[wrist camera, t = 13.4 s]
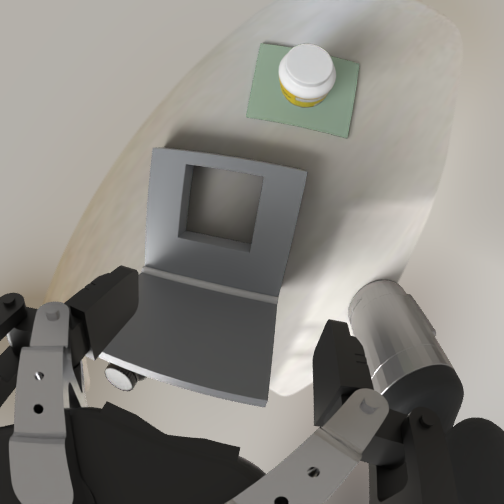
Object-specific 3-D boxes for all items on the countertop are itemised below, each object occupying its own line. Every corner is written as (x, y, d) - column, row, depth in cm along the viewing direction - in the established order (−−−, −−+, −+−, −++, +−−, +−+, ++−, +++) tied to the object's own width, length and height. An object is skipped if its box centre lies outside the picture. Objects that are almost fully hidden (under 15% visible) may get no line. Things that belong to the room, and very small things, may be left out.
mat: (358, 65, 25) (359, 64, 25) (346, 138, 29) (347, 138, 28) (261, 44, 26) (260, 43, 25) (246, 117, 30) (245, 116, 29)
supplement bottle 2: (278, 67, 26) (275, 35, 17) (325, 68, 26) (339, 37, 17) (281, 109, 28) (278, 91, 19) (328, 109, 28) (345, 93, 18)
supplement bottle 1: (158, 354, 45) (131, 402, 34) (127, 332, 44) (94, 376, 33) (174, 333, 42) (145, 384, 31) (140, 309, 42) (103, 354, 30)
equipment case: (305, 170, 31) (330, 195, 13) (276, 295, 37) (264, 407, 20) (163, 147, 32) (54, 156, 14) (154, 267, 38) (76, 346, 21)
